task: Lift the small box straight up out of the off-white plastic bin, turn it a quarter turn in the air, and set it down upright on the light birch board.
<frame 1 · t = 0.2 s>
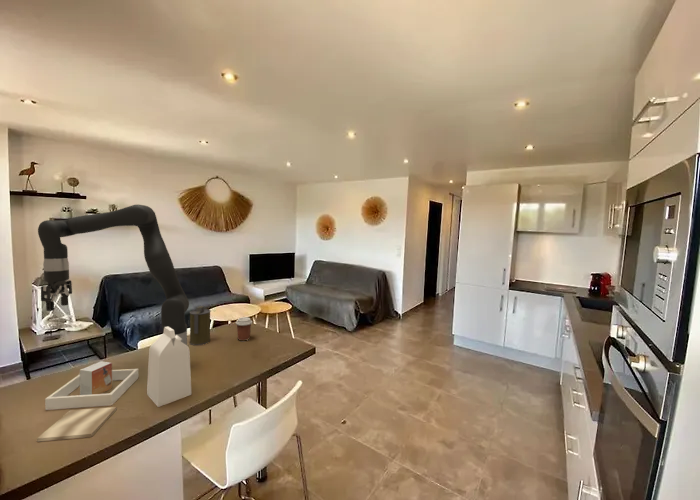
hand: (57, 307, 125), 29 cm above the counter, tool pointing down, fingers open, 8 cm apart
milk: (169, 394, 117), on the counter
coffee cup: (243, 339, 175), on the counter
bin: (96, 392, 116), on the counter
canister: (199, 342, 169), on the counter
board: (80, 424, 98), on the counter
small box: (96, 392, 116), resting in bin
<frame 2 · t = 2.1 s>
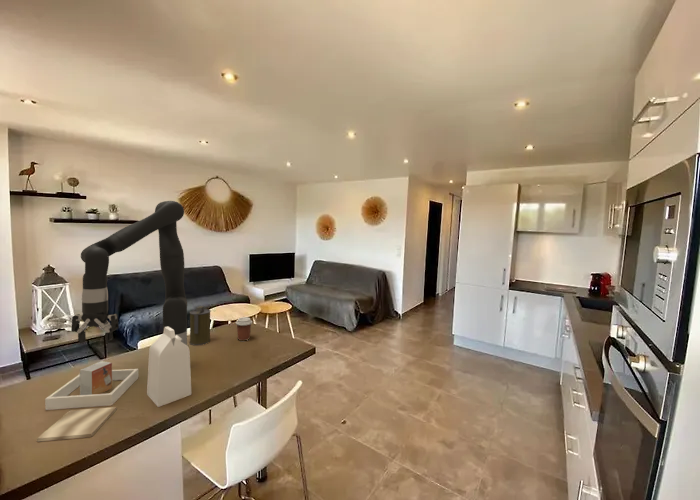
hand: (95, 341, 115), 20 cm above the counter, tool pointing down, fingers open, 8 cm apart
nothing on the counter moved.
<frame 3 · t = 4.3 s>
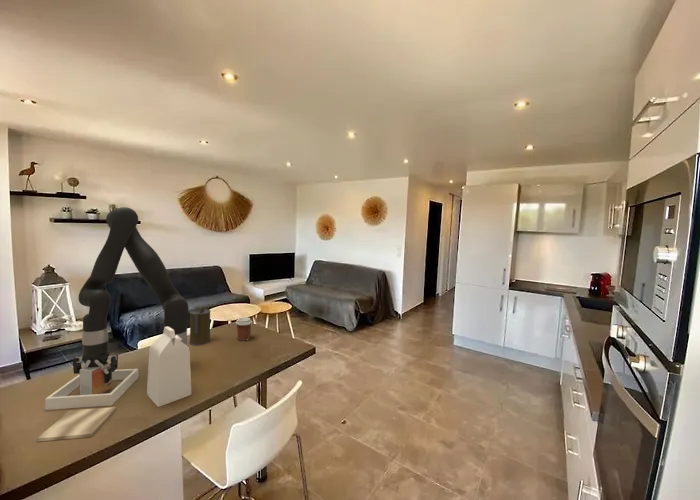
hand: (96, 382, 116), 4 cm above the counter, tool pointing down, fingers closed on small box, 7 cm apart
small box: (96, 392, 116), resting in bin, touching gripper
everything else where it was.
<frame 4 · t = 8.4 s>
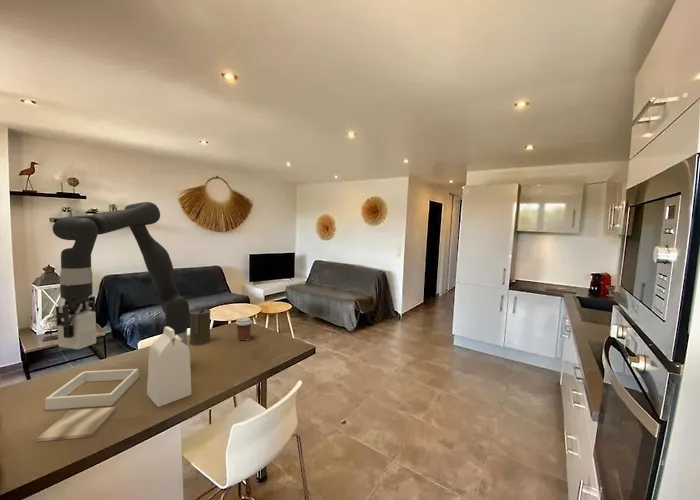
hand: (77, 333, 96), 30 cm above the counter, tool pointing down, fingers closed on small box, 7 cm apart
small box: (77, 345, 96), point 26 cm above the counter, touching gripper
everything else where it was.
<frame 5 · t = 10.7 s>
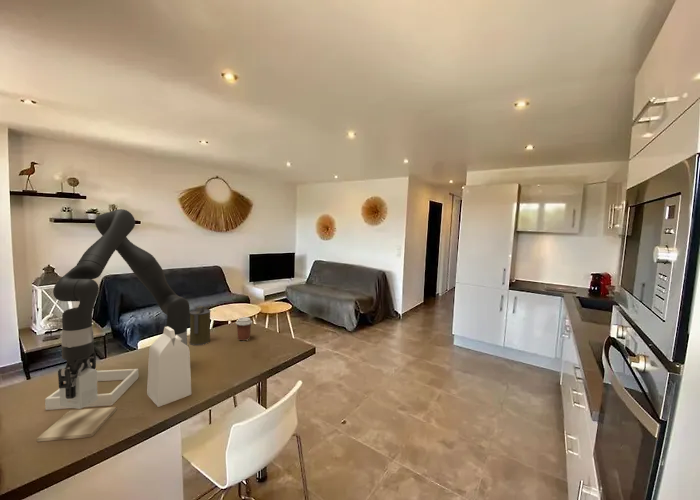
hand: (78, 391, 97), 11 cm above the counter, tool pointing down, fingers closed on small box, 7 cm apart
small box: (79, 403, 97), point 7 cm above the counter, touching gripper
everything else where it was.
when the fingers open (6 cm above the counter, at t = 12.6 s): small box stays where it is, resting on board.
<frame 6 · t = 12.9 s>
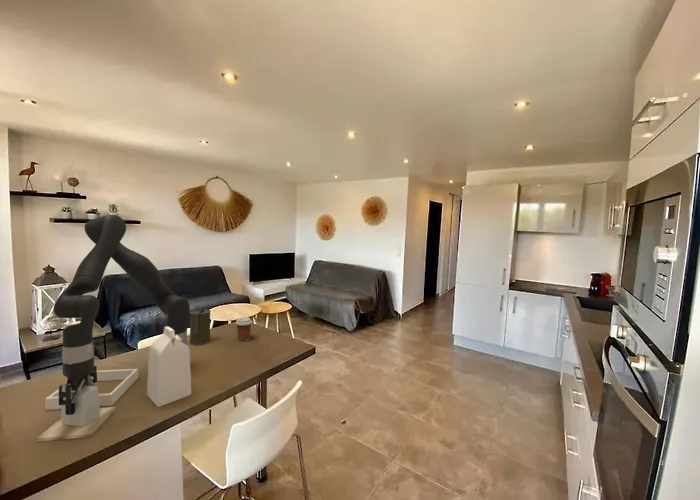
hand: (79, 406, 97), 6 cm above the counter, tool pointing down, fingers open, 8 cm apart
small box: (80, 421, 98), point 1 cm above the counter, touching board
everything else where it was.
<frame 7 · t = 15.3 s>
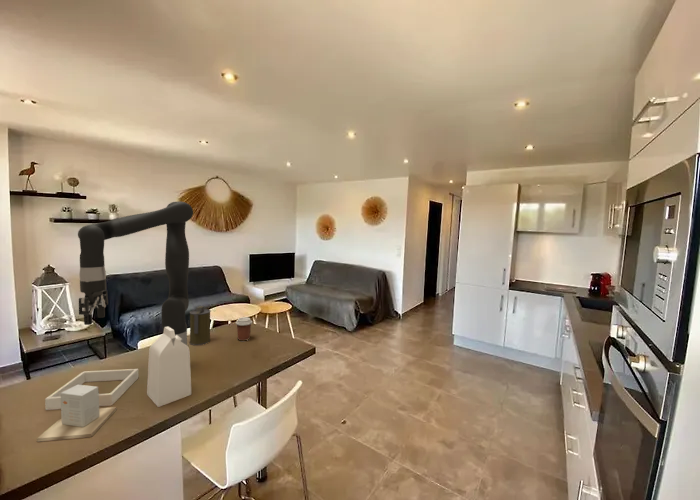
hand: (95, 320, 115), 28 cm above the counter, tool pointing down, fingers open, 8 cm apart
nothing on the counter moved.
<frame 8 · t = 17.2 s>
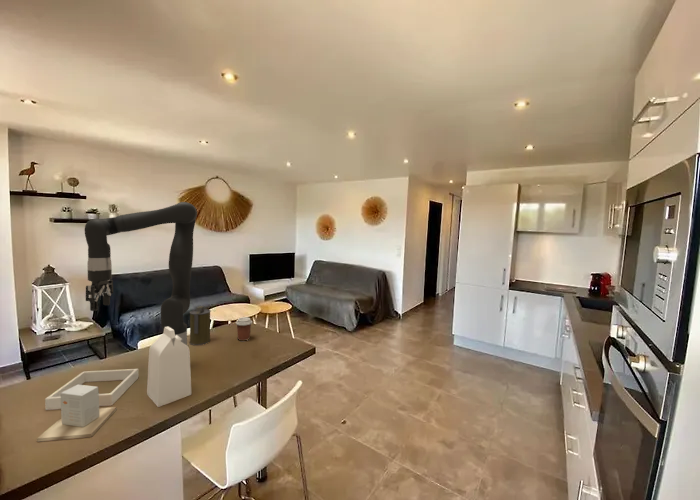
hand: (100, 307, 124), 30 cm above the counter, tool pointing down, fingers open, 8 cm apart
nothing on the counter moved.
at the end: small box inside the target area on the board (0.3 cm from its centre), point 0.8 cm above the board's base; small box tilted 0°; the gripper is holding nothing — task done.
